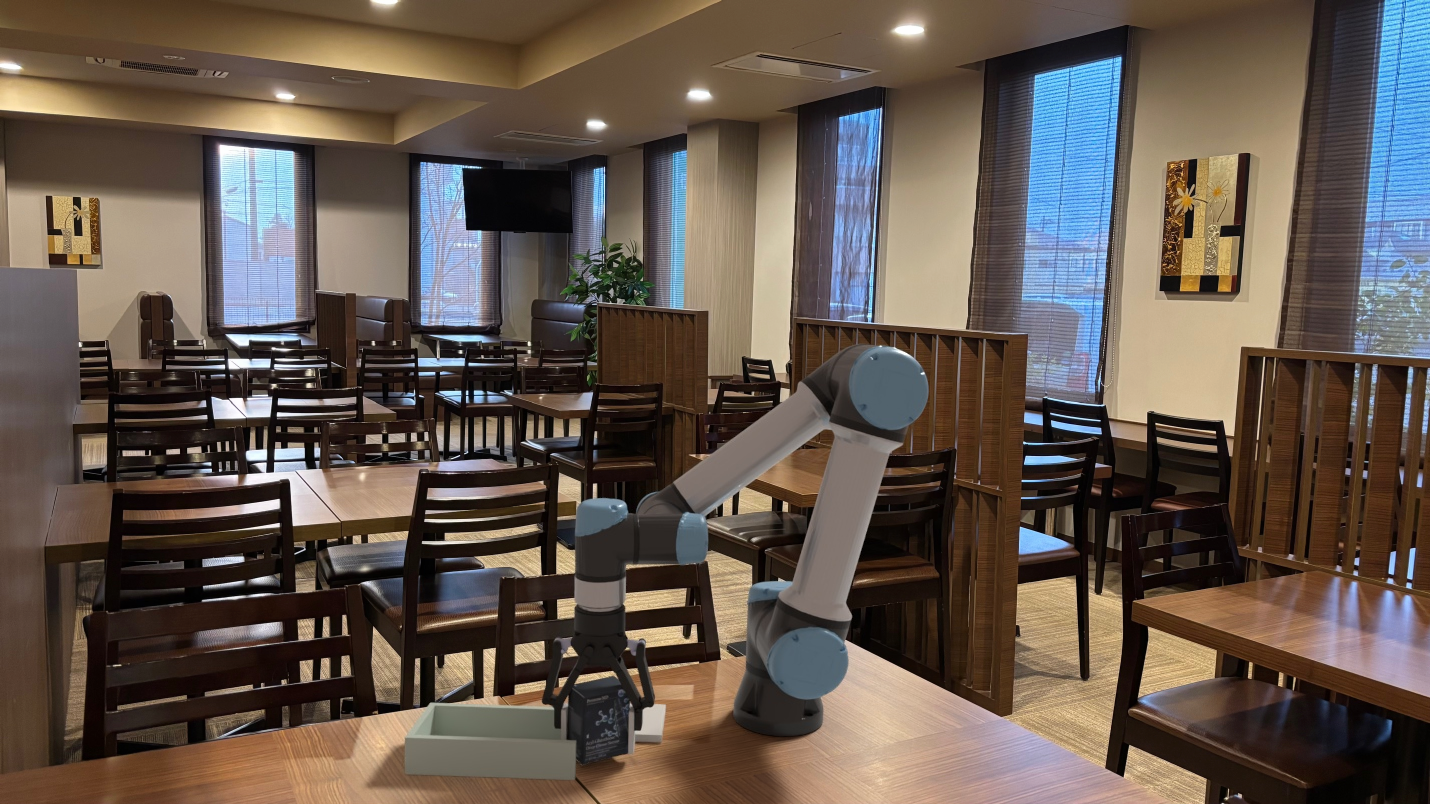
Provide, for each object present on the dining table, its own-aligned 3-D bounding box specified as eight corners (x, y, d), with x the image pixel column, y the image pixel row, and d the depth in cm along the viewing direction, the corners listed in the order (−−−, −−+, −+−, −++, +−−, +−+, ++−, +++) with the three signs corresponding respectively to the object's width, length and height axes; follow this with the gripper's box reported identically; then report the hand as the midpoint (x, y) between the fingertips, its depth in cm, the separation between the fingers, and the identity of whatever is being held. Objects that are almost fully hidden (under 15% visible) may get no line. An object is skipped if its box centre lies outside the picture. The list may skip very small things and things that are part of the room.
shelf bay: (586, 741, 155) (587, 708, 154) (574, 780, 142) (575, 743, 142) (430, 736, 155) (430, 702, 154) (404, 774, 142) (404, 737, 142)
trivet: (665, 711, 167) (665, 704, 167) (661, 742, 155) (661, 735, 155) (594, 708, 167) (595, 701, 167) (585, 739, 155) (585, 732, 155)
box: (582, 766, 144) (583, 696, 143) (566, 751, 149) (566, 683, 148) (630, 754, 148) (631, 686, 147) (612, 740, 153) (613, 674, 152)
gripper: (675, 598, 150) (672, 740, 152) (530, 594, 150) (529, 736, 152) (673, 613, 142) (670, 762, 145) (520, 609, 142) (519, 758, 145)
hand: (598, 749), depth 148 cm, fingers closed on box, 9 cm apart
